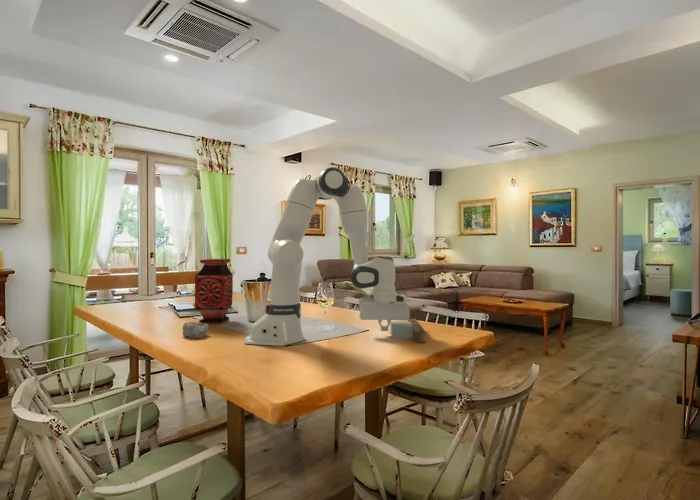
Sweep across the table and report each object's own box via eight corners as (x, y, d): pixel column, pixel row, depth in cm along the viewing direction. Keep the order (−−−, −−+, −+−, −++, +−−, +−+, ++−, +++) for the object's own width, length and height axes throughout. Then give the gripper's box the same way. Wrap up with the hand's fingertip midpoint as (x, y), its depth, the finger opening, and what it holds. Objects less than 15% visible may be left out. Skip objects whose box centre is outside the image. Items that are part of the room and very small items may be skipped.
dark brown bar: (415, 343, 150) (415, 331, 150) (407, 329, 174) (407, 318, 174) (425, 343, 150) (425, 331, 150) (415, 329, 174) (415, 318, 174)
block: (392, 339, 157) (392, 326, 157) (390, 333, 167) (390, 321, 167) (413, 339, 157) (413, 326, 157) (409, 333, 167) (409, 321, 167)
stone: (177, 339, 159) (177, 324, 159) (187, 334, 167) (187, 320, 167) (201, 339, 158) (201, 324, 158) (210, 334, 166) (210, 320, 166)
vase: (224, 325, 185) (223, 259, 184) (194, 325, 185) (193, 259, 184) (233, 319, 199) (232, 258, 198) (205, 319, 199) (205, 258, 198)
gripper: (358, 297, 159) (358, 332, 159) (410, 297, 159) (410, 332, 159) (358, 295, 165) (358, 328, 166) (408, 295, 165) (408, 329, 165)
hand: (384, 330), depth 162 cm, fingers closed
